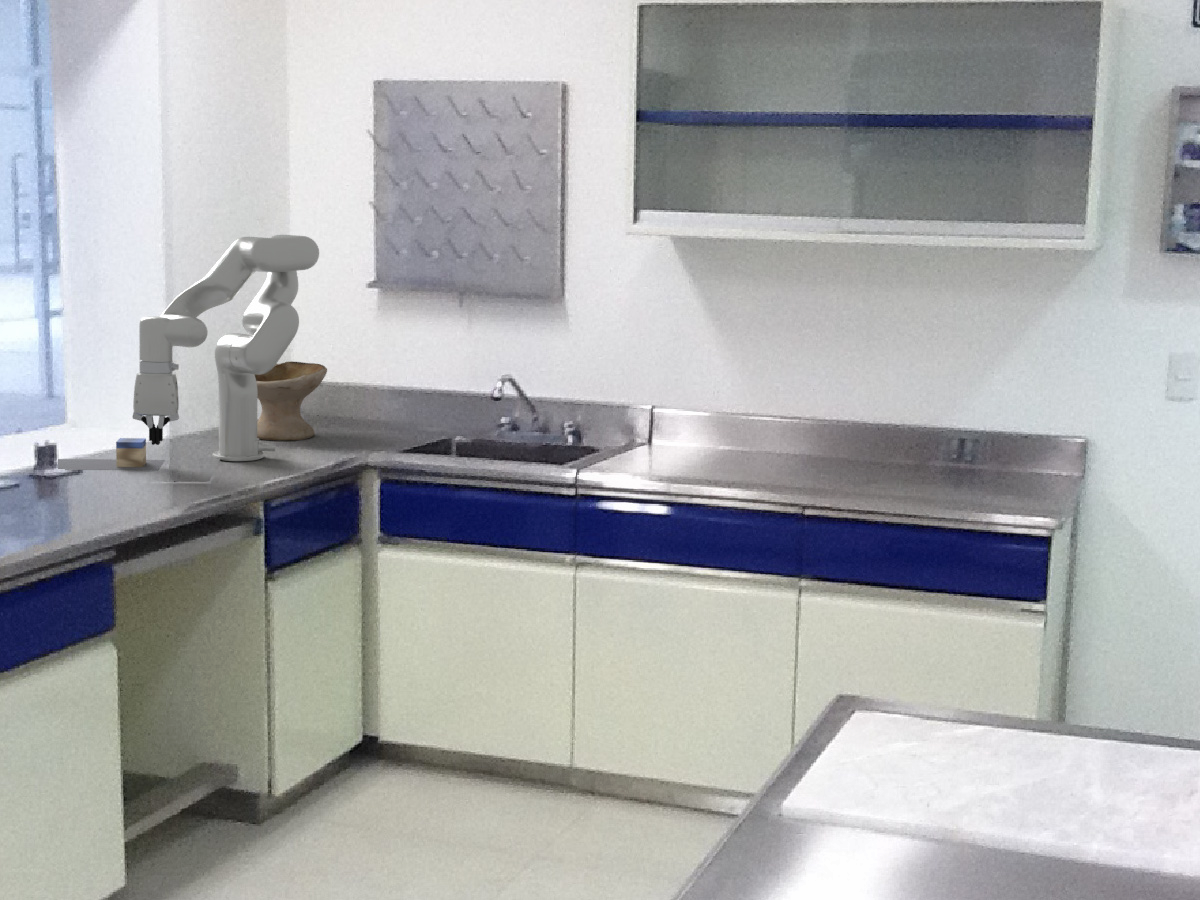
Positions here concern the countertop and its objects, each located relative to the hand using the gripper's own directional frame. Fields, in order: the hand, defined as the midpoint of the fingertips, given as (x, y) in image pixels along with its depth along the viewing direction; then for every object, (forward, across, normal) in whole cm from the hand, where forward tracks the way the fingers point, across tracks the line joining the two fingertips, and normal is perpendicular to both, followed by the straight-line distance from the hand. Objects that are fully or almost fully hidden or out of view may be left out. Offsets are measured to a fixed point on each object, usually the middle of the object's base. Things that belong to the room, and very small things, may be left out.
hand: (155, 443), depth 335 cm
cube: (+5, +6, 0) cm, 8 cm away
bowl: (+5, -28, -50) cm, 57 cm away
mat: (+6, +12, 0) cm, 13 cm away
